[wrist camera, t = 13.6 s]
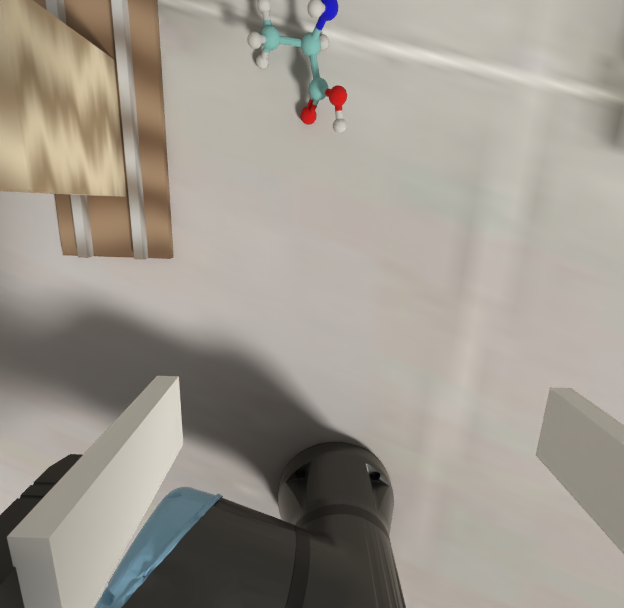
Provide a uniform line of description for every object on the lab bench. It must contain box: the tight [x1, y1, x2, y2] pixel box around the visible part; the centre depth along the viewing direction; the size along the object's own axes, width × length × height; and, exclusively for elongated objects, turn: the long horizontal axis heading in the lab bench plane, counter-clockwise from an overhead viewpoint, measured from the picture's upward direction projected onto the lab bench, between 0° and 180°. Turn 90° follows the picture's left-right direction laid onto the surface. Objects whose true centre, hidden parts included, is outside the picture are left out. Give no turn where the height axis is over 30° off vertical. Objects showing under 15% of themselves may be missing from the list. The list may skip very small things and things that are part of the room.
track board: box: [33, 0, 173, 259], centre depth 38 cm, size 26×12×2 cm, turn 178°
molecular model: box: [248, 0, 347, 133], centre depth 34 cm, size 12×10×10 cm
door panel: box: [0, 0, 127, 197], centre depth 32 cm, size 13×4×14 cm, turn 178°
